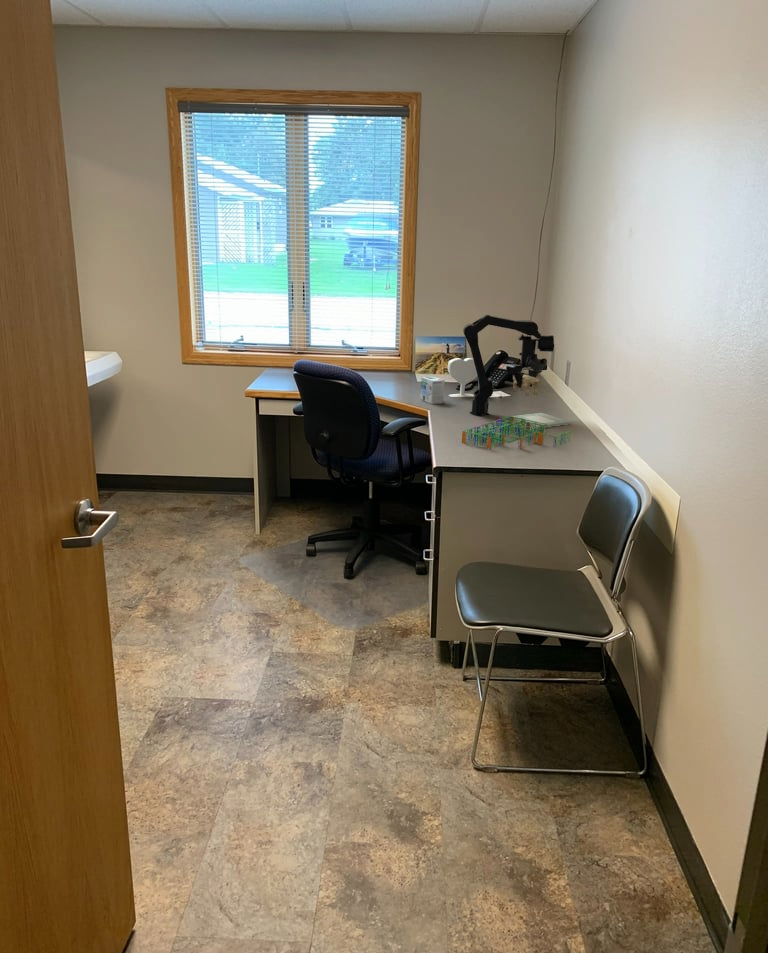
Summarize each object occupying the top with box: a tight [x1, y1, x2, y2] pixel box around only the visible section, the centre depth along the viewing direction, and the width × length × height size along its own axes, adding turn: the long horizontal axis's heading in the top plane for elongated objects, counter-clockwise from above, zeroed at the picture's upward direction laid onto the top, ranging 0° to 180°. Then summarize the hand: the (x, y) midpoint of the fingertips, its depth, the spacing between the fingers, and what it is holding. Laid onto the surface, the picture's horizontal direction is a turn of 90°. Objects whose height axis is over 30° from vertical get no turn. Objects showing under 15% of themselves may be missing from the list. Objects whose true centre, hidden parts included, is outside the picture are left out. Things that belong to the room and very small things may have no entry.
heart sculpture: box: [447, 357, 478, 398], centre depth 361 cm, size 16×5×18 cm, turn 105°
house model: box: [461, 415, 572, 450], centre depth 286 cm, size 35×30×5 cm
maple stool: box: [512, 374, 540, 396], centre depth 323 cm, size 10×6×7 cm, turn 31°
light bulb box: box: [419, 375, 445, 405], centre depth 348 cm, size 11×7×11 cm, turn 27°
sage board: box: [508, 412, 571, 428], centre depth 317 cm, size 18×18×1 cm
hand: (525, 387), depth 323 cm, fingers closed on maple stool, 6 cm apart
